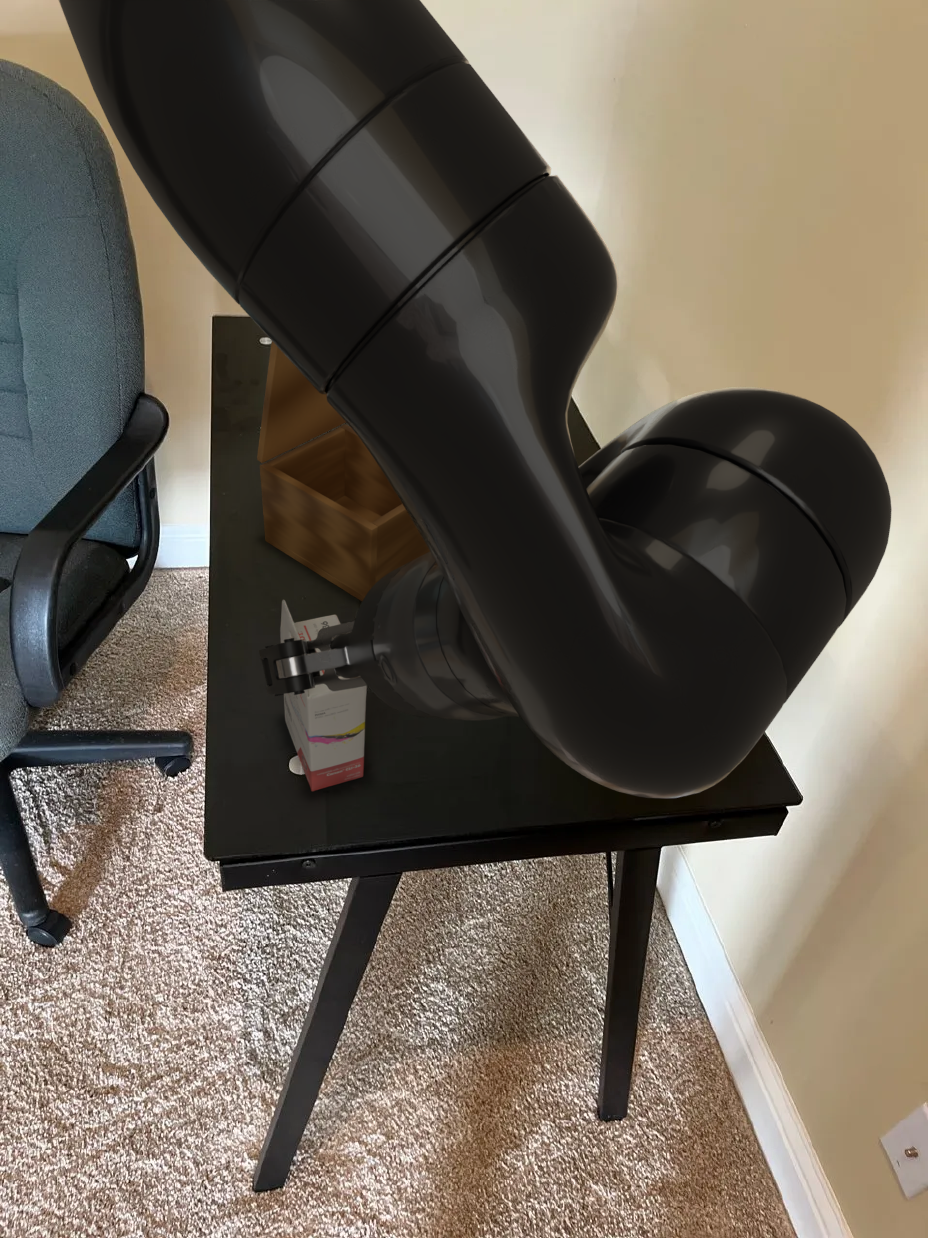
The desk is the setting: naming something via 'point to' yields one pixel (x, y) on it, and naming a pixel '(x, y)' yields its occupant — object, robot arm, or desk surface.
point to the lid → (291, 409)
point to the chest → (337, 512)
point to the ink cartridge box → (324, 718)
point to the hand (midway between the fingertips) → (368, 652)
